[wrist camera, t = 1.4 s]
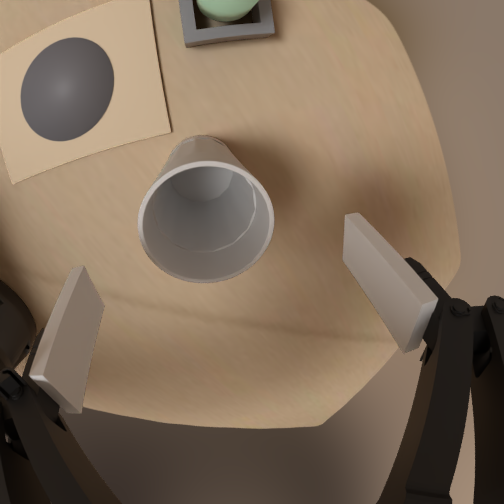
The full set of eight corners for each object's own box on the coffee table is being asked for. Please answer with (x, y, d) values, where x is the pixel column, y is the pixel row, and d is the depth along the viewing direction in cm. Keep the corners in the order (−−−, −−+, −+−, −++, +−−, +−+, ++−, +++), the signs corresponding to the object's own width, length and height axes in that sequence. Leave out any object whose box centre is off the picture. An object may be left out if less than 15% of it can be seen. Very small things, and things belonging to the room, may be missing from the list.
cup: (154, 131, 24) (126, 170, 14) (242, 123, 25) (276, 156, 16) (163, 210, 29) (151, 289, 19) (243, 202, 30) (272, 276, 20)
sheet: (14, 183, 23) (11, 185, 23) (-14, 64, 15) (-17, 64, 15) (171, 131, 25) (170, 132, 24) (148, -9, 17) (148, -10, 16)
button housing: (185, 47, 21) (184, 43, 18) (176, -19, 17) (175, -30, 14) (266, 37, 21) (274, 33, 19) (257, -28, 17) (264, -38, 15)
